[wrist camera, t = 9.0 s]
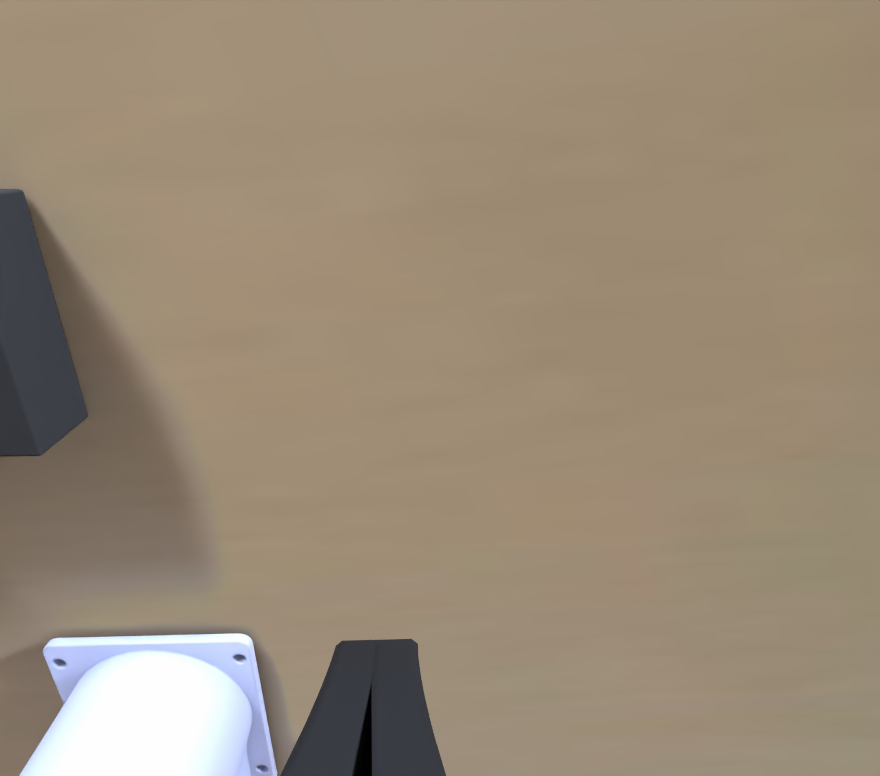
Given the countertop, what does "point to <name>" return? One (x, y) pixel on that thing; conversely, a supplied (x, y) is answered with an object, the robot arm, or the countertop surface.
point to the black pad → (31, 343)
